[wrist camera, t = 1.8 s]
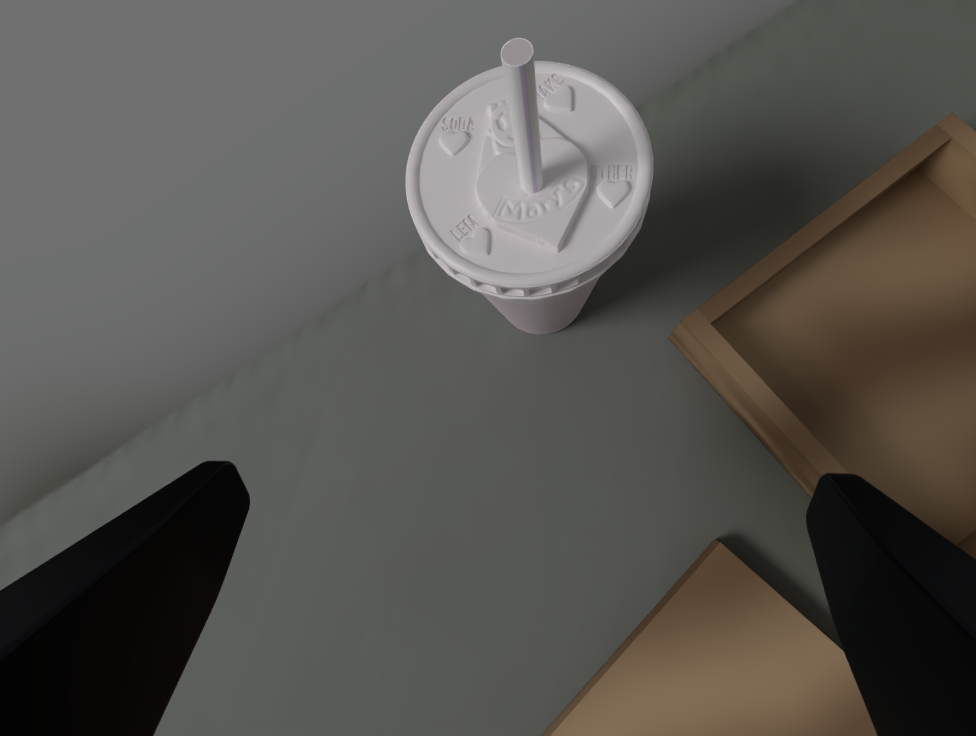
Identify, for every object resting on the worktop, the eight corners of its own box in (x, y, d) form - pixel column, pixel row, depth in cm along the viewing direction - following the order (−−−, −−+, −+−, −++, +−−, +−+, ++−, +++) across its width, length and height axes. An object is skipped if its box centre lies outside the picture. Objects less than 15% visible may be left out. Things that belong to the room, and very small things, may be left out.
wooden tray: (1182, 389, 19) (1275, 377, 16) (905, 603, 19) (956, 623, 16) (908, 152, 22) (952, 112, 19) (668, 337, 22) (681, 320, 19)
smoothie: (494, 387, 22) (383, 255, 9) (449, 253, 24) (292, -42, 10) (640, 335, 22) (769, 109, 8) (586, 202, 23) (617, -180, 10)
